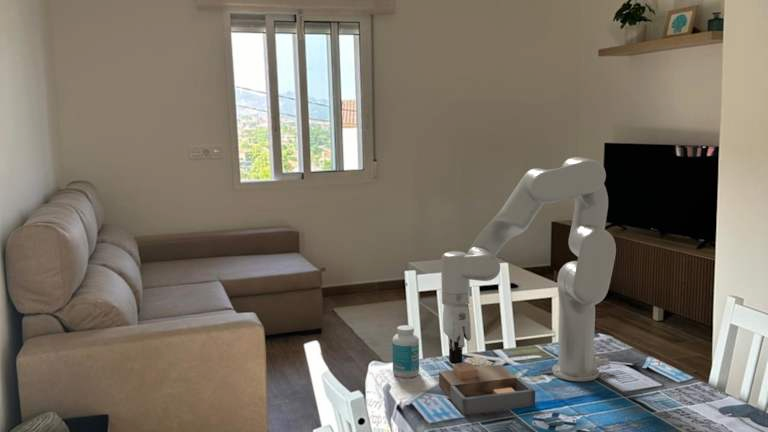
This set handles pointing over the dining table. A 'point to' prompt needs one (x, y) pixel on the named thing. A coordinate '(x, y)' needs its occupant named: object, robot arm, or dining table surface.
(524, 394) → the tray
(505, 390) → the tile
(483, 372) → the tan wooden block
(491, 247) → the robot arm
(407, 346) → the pill bottle
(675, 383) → the dining table surface
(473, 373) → the tile
